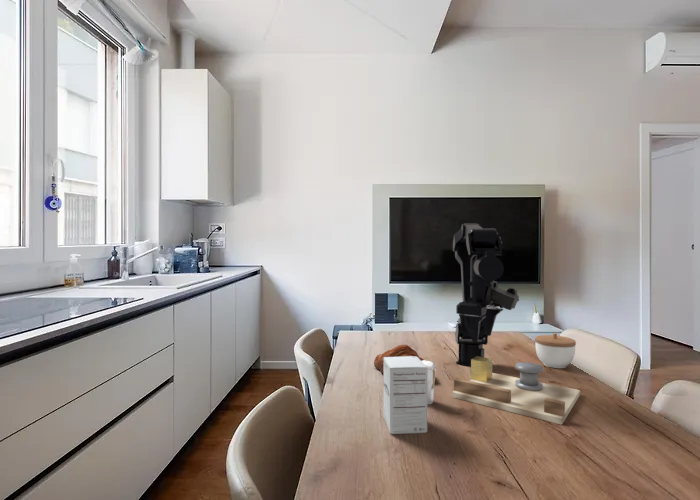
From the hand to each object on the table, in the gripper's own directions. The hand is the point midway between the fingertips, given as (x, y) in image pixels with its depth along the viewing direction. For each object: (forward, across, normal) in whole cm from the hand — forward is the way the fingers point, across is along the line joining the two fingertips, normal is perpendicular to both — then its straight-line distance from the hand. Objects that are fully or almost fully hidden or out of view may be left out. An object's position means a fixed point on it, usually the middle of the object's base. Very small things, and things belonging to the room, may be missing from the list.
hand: (482, 338), depth 102 cm
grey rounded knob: (+10, +1, -11) cm, 15 cm away
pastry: (+12, -6, +20) cm, 24 cm away
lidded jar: (+12, +29, -11) cm, 33 cm away
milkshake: (+12, -20, +5) cm, 24 cm away
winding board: (+11, -4, -10) cm, 15 cm away
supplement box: (+12, -33, +3) cm, 35 cm away
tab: (+10, 0, 0) cm, 10 cm away
